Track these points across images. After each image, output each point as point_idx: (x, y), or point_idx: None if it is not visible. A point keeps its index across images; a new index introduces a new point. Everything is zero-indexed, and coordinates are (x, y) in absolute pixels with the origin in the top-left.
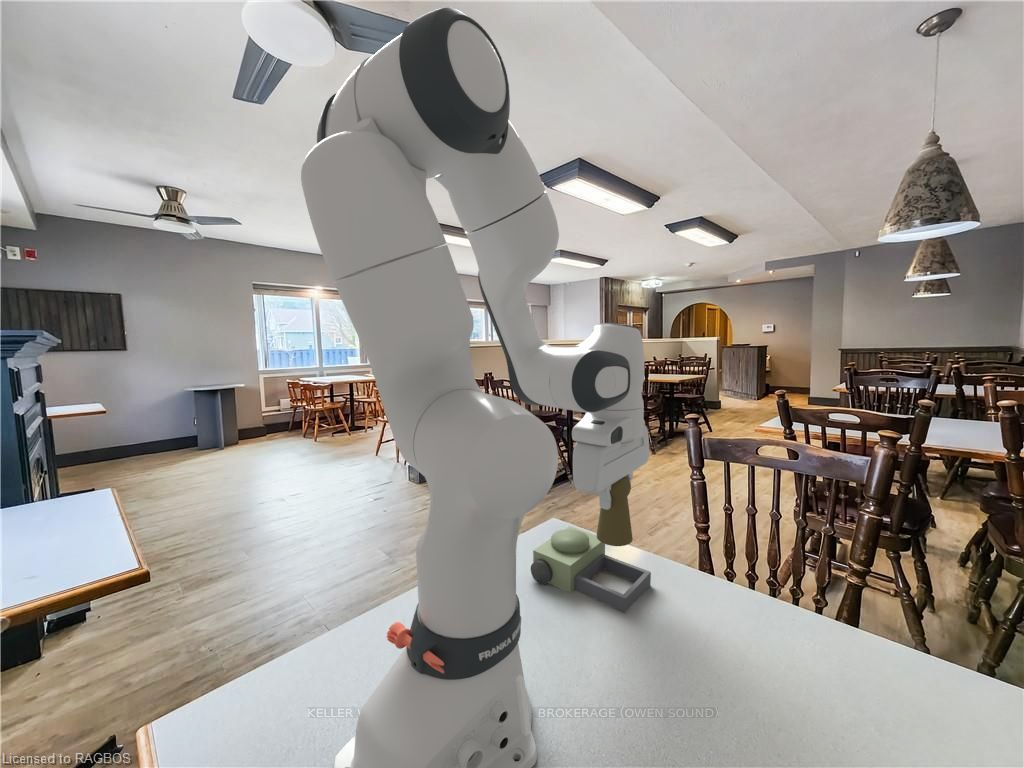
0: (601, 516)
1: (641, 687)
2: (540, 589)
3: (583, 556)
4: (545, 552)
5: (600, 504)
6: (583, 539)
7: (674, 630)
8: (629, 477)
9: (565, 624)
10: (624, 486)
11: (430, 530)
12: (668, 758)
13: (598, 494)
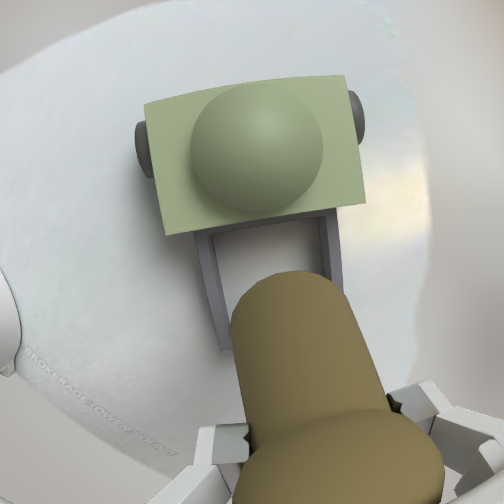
0: (246, 361)
1: (130, 408)
2: (141, 170)
3: (235, 222)
4: (160, 135)
5: (199, 436)
6: (286, 182)
7: None
8: (457, 486)
9: (113, 282)
10: None
11: None
12: (103, 440)
13: (171, 485)
